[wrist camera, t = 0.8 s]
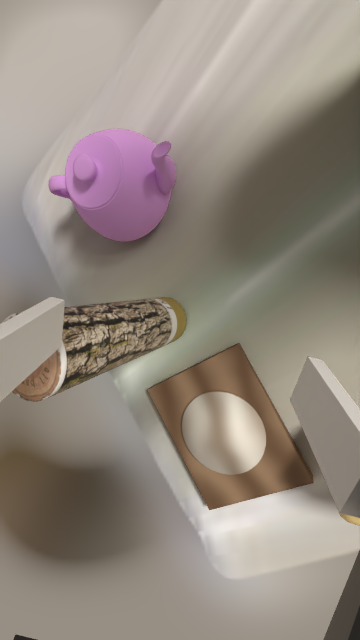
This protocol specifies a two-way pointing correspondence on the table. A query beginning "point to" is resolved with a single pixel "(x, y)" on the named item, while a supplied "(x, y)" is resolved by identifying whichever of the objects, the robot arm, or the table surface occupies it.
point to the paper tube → (103, 342)
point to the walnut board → (229, 431)
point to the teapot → (118, 183)
